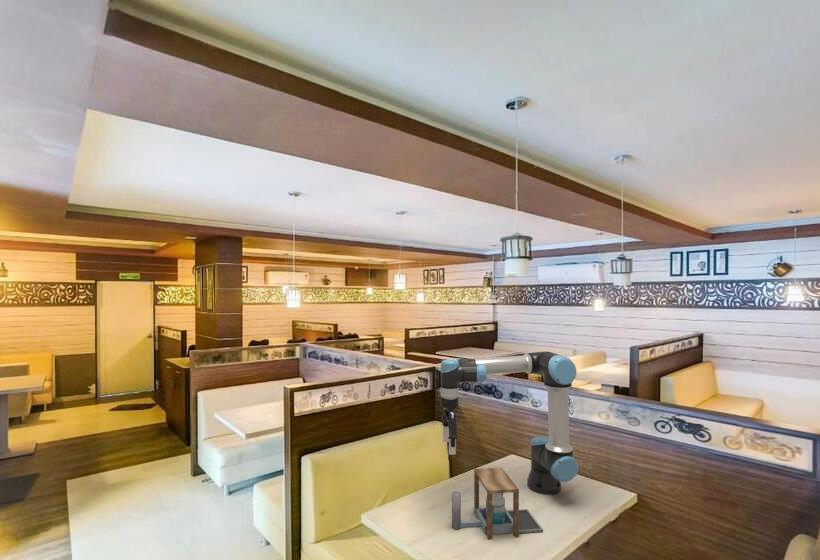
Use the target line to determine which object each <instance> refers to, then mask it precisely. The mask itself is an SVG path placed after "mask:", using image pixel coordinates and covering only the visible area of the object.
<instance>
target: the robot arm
mask: <svg viewBox="0 0 820 560" xmlns="http://www.w3.org/2000/svg"><path fill="white" fill-rule="evenodd" d="M513 373H526V374H528V375H529V374H530V375H533V374H534V375H537V376H542V377H543V386H545V388H546V389H547V421H548V422H547V423H548V424H547V426H548V427H547V429H548V436H546V435H542V436H535V437H532V438H531V440H530V470H529V474H528V477H527V479H526V480H527V484H526V485H527V487H528V489H529V490H530V491H533V492H535V493H537V494H542V495H556V494H559V493H560V492H561V490H562V484H561V483H568V482H570V481H572V480H573V479H574V478H575V477H576V476H577V475H578V473H579V463H578V461H577V459H576V458H575V457H574V448H573V446H572V445H571V443H570V426H569V425H570V422H569V421H570V420H569V418H570V417H569V414H570V413H569V390H570V388H572V385H573V382H574V380H575V379H576V377H577V367H576V364H575V362H573V360H572V359H570V358H569V357H568V356H565V355H562V354H558V353H555V352H552V351H537V352H536V351H533V352H524V354H523V355H513V356H512V355H509V356H495V357H494V356H492V357H479V358H464V357H458V358H456V359H444V360H442V361H441V364H440V389H439V392H440V404H439V405H440V407H441V408H442V410H443V411H442V419H441V423H442V443H448V455H449V456H452V455H453V456H454V455H456V454H457V452H456V451H457V439H458V431H457V420H456V419H457V418H456V416H457V415H456V412H455V411H454V409H457V408H458V407H459V395H460V394H459V393H460V391H459V389H460V387H459V384H460V383H461V384H463V383H465V384H467V383H471V384H472V383H484V382H485V381H486V380H487V376H488V375H497V374H513Z"/></svg>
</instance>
